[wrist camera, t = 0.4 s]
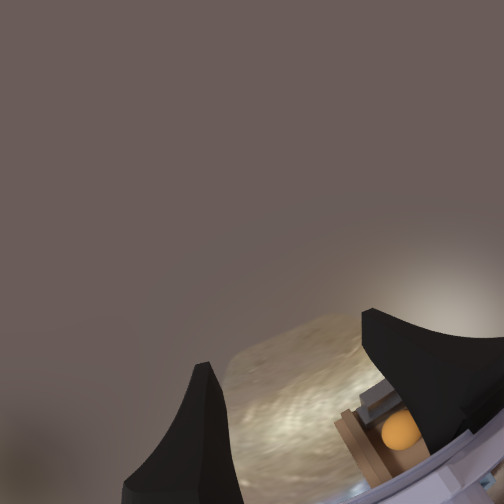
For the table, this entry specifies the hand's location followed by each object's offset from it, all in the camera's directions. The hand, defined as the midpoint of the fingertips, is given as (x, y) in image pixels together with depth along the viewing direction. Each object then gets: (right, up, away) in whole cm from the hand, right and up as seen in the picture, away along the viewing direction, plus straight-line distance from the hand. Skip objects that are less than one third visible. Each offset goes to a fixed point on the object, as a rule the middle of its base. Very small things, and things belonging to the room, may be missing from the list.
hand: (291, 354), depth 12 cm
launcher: (+13, -14, +10) cm, 22 cm away
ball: (+12, -12, +7) cm, 18 cm away
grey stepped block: (+12, -11, +11) cm, 20 cm away
